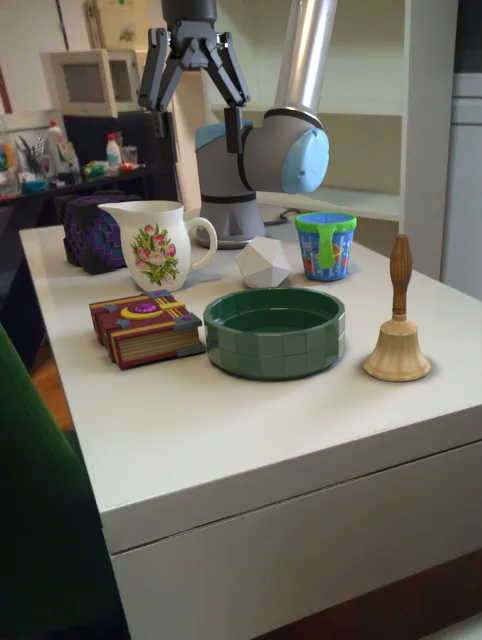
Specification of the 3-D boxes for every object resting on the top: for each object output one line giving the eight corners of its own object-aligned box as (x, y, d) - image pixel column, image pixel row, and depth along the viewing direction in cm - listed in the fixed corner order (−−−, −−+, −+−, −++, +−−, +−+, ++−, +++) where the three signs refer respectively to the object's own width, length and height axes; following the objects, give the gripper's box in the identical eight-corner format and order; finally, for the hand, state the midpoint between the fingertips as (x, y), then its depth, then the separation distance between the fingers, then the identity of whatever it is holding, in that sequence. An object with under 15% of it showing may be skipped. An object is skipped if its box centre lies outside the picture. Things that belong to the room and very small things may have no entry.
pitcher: (224, 292, 99) (216, 205, 92) (112, 301, 95) (94, 212, 88) (218, 273, 108) (210, 193, 101) (115, 281, 104) (99, 199, 97)
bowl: (268, 319, 88) (266, 279, 85) (369, 345, 79) (371, 302, 76) (179, 359, 76) (173, 315, 73) (288, 396, 67) (285, 347, 64)
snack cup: (302, 263, 113) (301, 207, 108) (357, 264, 112) (359, 208, 107) (290, 289, 100) (287, 227, 94) (352, 290, 99) (353, 227, 93)
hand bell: (383, 387, 69) (390, 247, 60) (351, 360, 75) (354, 230, 67) (443, 374, 71) (458, 239, 63) (408, 349, 78) (417, 223, 70)
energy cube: (125, 251, 122) (114, 189, 116) (153, 262, 114) (142, 197, 108) (67, 262, 115) (53, 197, 109) (92, 275, 108) (78, 206, 101)
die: (302, 290, 101) (288, 235, 102) (284, 277, 93) (269, 217, 94) (258, 305, 104) (244, 251, 105) (236, 295, 95) (221, 236, 96)
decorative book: (119, 372, 72) (111, 334, 70) (90, 330, 85) (83, 296, 82) (206, 352, 77) (202, 316, 75) (168, 315, 89) (163, 283, 87)
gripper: (129, -25, 70) (155, 168, 81) (268, -7, 87) (275, 151, 98) (91, -20, 74) (121, 164, 85) (232, -3, 91) (242, 148, 102)
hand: (203, 157), depth 92 cm, fingers open, 13 cm apart
